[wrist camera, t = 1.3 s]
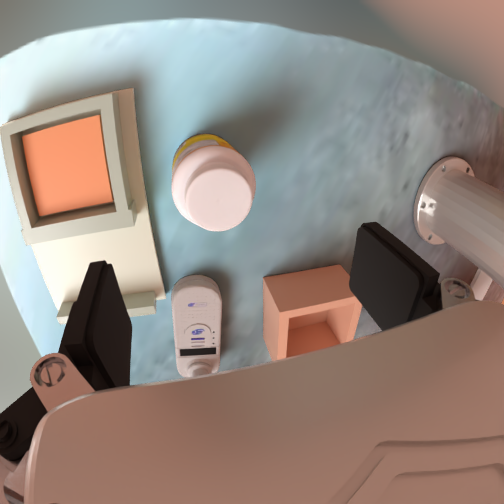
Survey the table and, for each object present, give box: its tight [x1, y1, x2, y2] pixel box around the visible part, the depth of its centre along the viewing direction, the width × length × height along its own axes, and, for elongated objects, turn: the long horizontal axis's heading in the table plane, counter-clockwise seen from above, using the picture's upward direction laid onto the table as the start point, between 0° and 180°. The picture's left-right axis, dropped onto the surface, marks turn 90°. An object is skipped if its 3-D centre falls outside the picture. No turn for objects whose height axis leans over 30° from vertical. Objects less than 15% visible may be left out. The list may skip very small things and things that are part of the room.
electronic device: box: [171, 275, 222, 378], centre depth 31 cm, size 5×10×15 cm
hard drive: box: [470, 268, 493, 301], centre depth 48 cm, size 2×8×12 cm
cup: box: [263, 264, 362, 361], centre depth 34 cm, size 10×10×6 cm
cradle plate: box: [22, 114, 114, 216], centre depth 21 cm, size 8×8×1 cm
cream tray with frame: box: [0, 88, 166, 324], centre depth 24 cm, size 13×21×3 cm, turn 2°
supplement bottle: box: [172, 134, 256, 231], centre depth 22 cm, size 6×6×10 cm
